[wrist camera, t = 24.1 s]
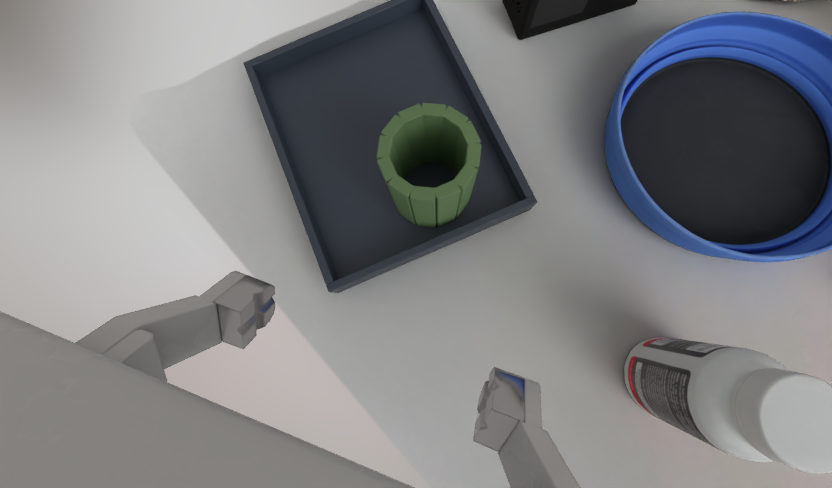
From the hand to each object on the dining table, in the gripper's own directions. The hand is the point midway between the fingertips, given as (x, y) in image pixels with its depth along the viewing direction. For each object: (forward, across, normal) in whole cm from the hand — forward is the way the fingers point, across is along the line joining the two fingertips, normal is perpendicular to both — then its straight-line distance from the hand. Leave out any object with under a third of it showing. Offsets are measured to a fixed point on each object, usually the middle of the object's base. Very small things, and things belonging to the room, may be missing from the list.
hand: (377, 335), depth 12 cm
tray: (+19, +7, 0) cm, 20 cm away
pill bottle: (+12, -18, +8) cm, 23 cm away
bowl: (+24, -18, -6) cm, 30 cm away
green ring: (+17, +2, +1) cm, 17 cm away
